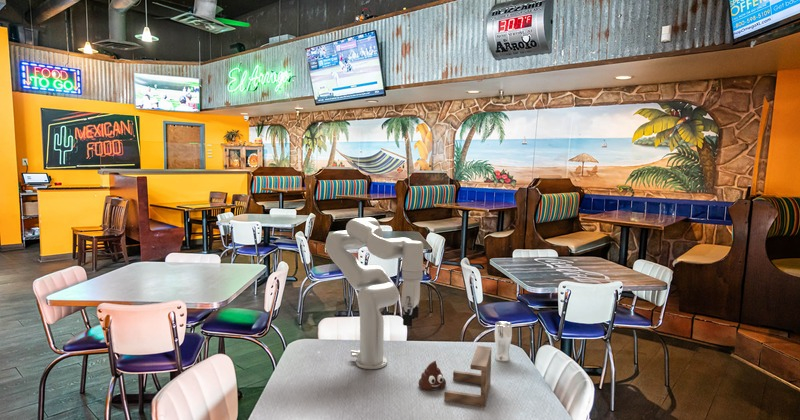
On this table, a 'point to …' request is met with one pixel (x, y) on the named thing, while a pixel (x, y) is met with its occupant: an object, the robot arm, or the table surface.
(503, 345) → the white cylindrical piece
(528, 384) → the table surface
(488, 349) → the cubby
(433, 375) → the poop emoji
